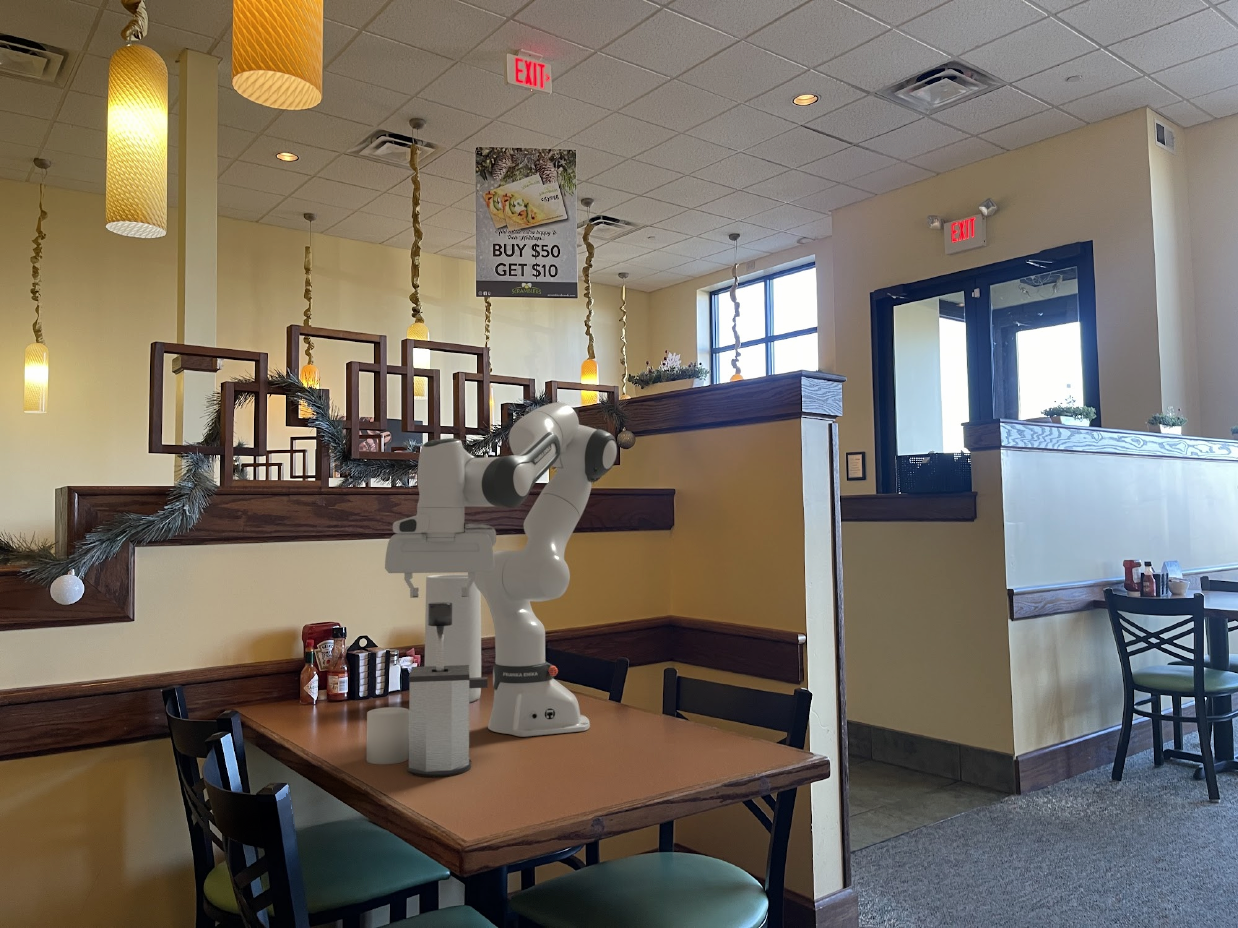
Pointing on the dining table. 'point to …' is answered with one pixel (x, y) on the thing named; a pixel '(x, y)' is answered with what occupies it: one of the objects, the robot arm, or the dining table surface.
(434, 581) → the vase
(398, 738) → the diner mug
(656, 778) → the dining table surface
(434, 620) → the pump plunger
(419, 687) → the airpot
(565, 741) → the dining table surface
